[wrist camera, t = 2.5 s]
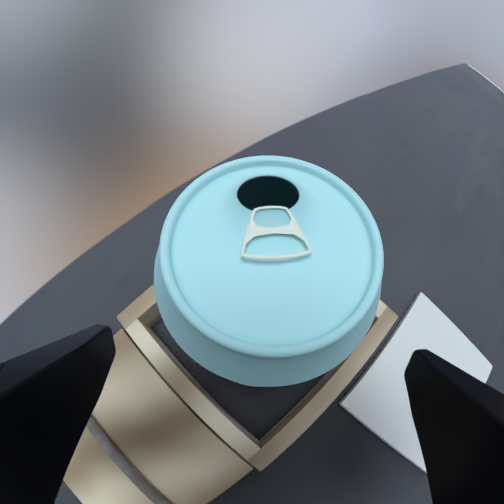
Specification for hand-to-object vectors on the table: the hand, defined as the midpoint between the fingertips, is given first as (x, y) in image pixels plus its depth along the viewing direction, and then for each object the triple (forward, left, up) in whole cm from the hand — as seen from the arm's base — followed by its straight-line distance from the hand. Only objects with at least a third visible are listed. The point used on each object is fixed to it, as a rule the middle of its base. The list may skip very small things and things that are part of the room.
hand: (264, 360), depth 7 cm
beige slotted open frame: (+2, +4, -10) cm, 11 cm away
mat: (-10, -7, -10) cm, 16 cm away
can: (+2, -2, -10) cm, 11 cm away
